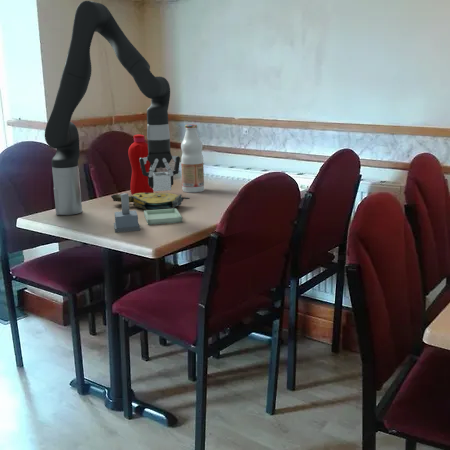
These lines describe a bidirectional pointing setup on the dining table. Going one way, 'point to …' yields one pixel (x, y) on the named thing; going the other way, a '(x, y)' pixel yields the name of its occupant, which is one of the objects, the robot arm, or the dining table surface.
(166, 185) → the gray open box
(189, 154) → the fruit juice
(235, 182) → the dining table surface
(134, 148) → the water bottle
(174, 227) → the dining table surface
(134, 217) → the grey peg stand
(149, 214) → the tray
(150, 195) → the pulley block
